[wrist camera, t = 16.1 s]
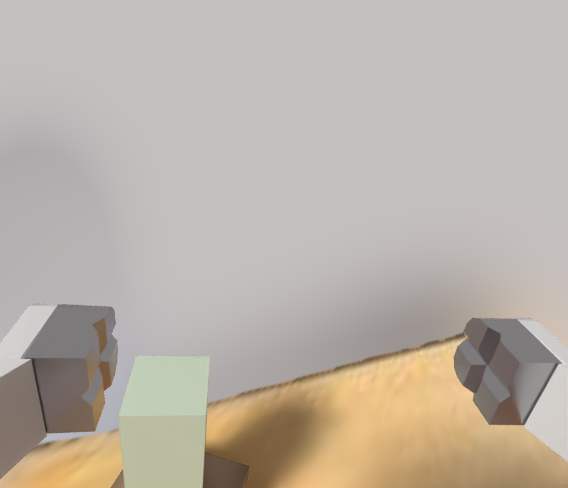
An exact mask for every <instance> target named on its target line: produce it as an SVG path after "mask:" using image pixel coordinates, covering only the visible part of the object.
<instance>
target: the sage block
mask: <svg viewBox="0 0 568 488" xmlns="http://www.w3.org/2000/svg"><path fill="white" fill-rule="evenodd" d="M209 363H210V357H192V356H191V357H190V356H188V357H187V356H186V357H185V356H136V359H135V362H134V366H133V370H132V373H131V376H130V379H129V383H128V386H127V389H126V393H125V396H124V399H123V403H122V406H121V410H120V413H119V428H120V439H121V451H122V462H123V474H124V486H125V488H203V478H204V460H205V441H206V422H207V403H208V383H209V365H210V364H209Z"/></svg>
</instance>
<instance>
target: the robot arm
mask: <svg viewBox="0 0 568 488" xmlns="http://www.w3.org/2000/svg"><path fill="white" fill-rule="evenodd" d="M115 324H116V321H115V312H114V309H113V308H112V307H105V306H84V305H65V304H62V305H59V304H33V305H30V306H29V307H28V308H27V309H26V310H25V312H24V313H23V314H22V315H21V317H20V318H19V319H18V321H17V322H16V323H15V325H14V326H13V327H12V329H11V330H10V332H9V333H8V334H7V335H6V336H5V338H4V339H3V340H2V342H1V343H0V479H1V478H2V477H3V476H4V475H5V474H6V473H7V472H8V471H10V470H11V469H12V468H13V467H14V466H15V465H16V464H17V463H18V462H19V461H20V460H21V459H23V458H24V457H25V456H26V455H27V454H28V453H29V452H30V451H31V450H32V449H33V448H34V447H36V446H37V445H38V444H39V443H40V442H41V441H42V440H43V439H44V438H45V437H46V434H47V433H69V432H92V431H95V430H96V427H97V424H98V421H99V419H100V416H101V413H102V410H103V407H104V405H105V397H104V391H105V390H106V389H107V388H108V387H110V386H111V384H112V381H113V378H114V375H115V370H116V364H117V354H118V347H117V340H116V339H115V338H114V337H113V336H112V335H111V334H112V332H113V329H114V326H115ZM464 334H465V336H466V340H464V341H463V342H462V343H461V344H460V345H458V347H457V350H456V352H455V355H454V369H455V372H456V375H457V377H458V379H459V380H460V382H461V383H462V385H463V386H464V387H466V388H467V389H469V390H470V391H472V392H473V393H474V396H473V401H474V403H475V404H476V406H477V407H478V409H479V410H480V412H481V413H482V415H483V416H484V418H485V419H486V421H487V422H488V424H489V425H524V428H525V429H527V430H528V431H529V432H530V433H532V434H533V435H534V436H535V437H537V438H538V439H539V440H540V441H542V442H543V443H544V444H545V445H547V446H548V447H549V448H550V449H552V450H553V451H554V452H555V453H557V454H558V455H559V456H560V457H562V458H563V459H564V460H565V461H567V462H568V348H567V347H565V346H564V345H563V344H562V343H561V342H560V341H559V340H558V339H557V338H556V337H555V336H554V335H552V334H551V333H550V332H549V331H548V330H547V329H546V328H545V327H544V326H543V325H541V324H540V323H539V322H538V321H536V320H534V319H531V318H511V319H497V318H472V319H471V320H470V321H469V322H468V323H467V325H466V327H465V329H464Z"/></svg>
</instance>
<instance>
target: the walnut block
mask: <svg viewBox="0 0 568 488" xmlns="http://www.w3.org/2000/svg"><path fill="white" fill-rule="evenodd" d="M248 470H249V466H246V465H243V464H240V463H237V462H233V461H230V460H227V459H223V458H220V457H217V456H214V455H210V454H207V453H205V460H204V478H203V488H246V486H247V478H248ZM111 488H125V486H124V474H123V470H122V471H121V473H120V474H119V476H118V477H117V479H116V481H115V482H114V484H113V485H112V487H111Z"/></svg>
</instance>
